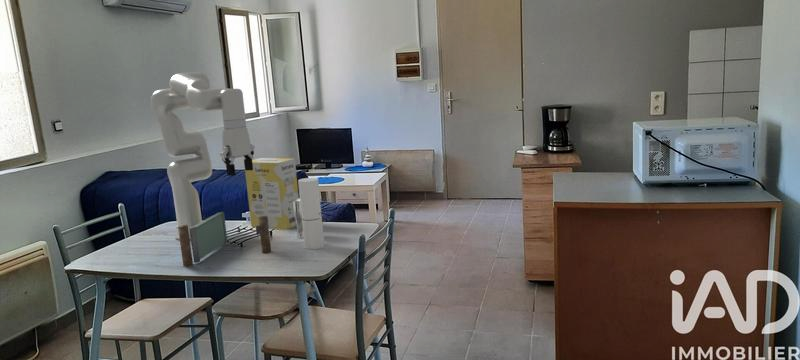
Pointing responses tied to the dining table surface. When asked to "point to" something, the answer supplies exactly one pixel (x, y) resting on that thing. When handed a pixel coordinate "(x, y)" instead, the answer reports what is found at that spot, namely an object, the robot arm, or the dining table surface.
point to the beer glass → (298, 217)
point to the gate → (208, 236)
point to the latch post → (264, 234)
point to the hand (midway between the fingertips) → (240, 172)
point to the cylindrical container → (311, 213)
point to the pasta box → (272, 191)
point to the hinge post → (185, 245)
